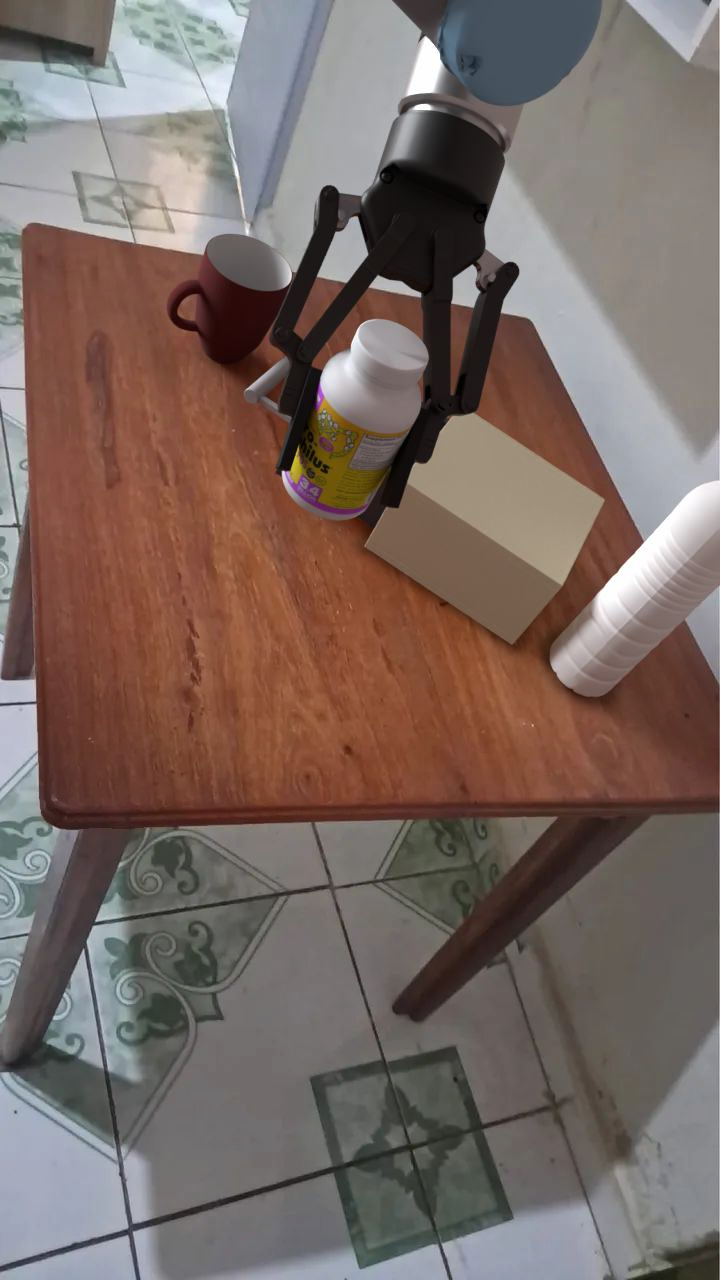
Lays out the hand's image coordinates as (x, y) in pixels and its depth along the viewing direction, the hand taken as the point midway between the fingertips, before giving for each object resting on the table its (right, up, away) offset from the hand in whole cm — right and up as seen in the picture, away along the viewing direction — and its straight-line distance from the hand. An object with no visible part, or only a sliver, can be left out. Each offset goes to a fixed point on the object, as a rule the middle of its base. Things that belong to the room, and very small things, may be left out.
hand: (336, 487), depth 62 cm
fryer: (+11, -2, +26) cm, 29 cm away
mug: (-13, +18, +30) cm, 37 cm away
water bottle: (+21, -13, +23) cm, 34 cm away
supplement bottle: (-1, +1, +5) cm, 5 cm away
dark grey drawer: (0, +6, +26) cm, 27 cm away
